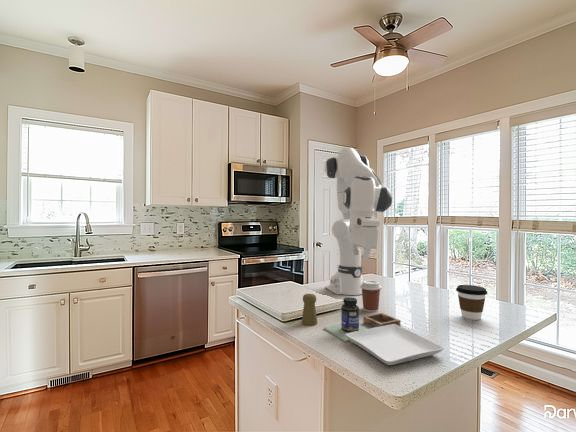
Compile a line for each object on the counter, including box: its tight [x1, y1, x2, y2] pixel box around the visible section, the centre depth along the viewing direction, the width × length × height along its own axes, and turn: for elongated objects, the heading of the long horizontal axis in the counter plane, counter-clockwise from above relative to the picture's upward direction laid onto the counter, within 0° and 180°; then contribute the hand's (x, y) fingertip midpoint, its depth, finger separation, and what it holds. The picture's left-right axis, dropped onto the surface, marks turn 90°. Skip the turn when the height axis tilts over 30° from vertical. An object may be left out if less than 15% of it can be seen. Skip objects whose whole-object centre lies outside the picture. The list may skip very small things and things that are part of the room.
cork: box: [301, 293, 318, 327], centre depth 118 cm, size 6×6×11 cm
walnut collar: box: [362, 312, 401, 328], centre depth 116 cm, size 9×9×2 cm
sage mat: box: [323, 323, 368, 343], centre depth 110 cm, size 13×13×1 cm
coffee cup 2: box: [455, 284, 488, 321], centre depth 124 cm, size 11×11×12 cm
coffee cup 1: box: [360, 279, 382, 313], centre depth 135 cm, size 9×9×12 cm
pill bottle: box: [340, 296, 360, 333], centre depth 110 cm, size 6×6×11 cm
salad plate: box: [345, 324, 444, 366], centre depth 96 cm, size 21×21×3 cm
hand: (360, 257), depth 115 cm, fingers open, 8 cm apart
